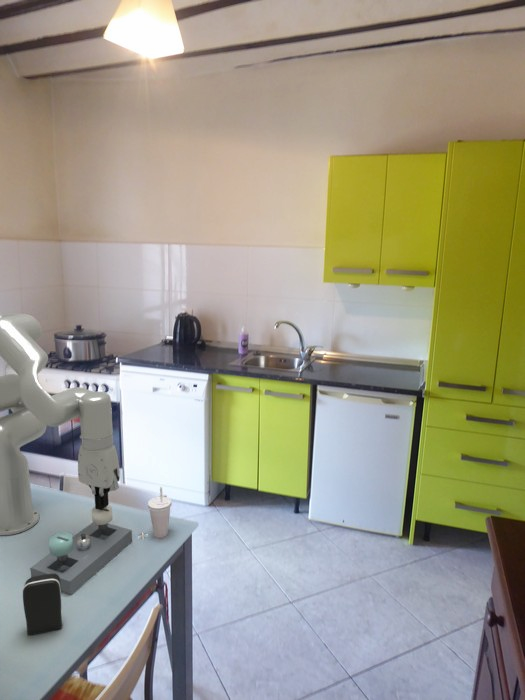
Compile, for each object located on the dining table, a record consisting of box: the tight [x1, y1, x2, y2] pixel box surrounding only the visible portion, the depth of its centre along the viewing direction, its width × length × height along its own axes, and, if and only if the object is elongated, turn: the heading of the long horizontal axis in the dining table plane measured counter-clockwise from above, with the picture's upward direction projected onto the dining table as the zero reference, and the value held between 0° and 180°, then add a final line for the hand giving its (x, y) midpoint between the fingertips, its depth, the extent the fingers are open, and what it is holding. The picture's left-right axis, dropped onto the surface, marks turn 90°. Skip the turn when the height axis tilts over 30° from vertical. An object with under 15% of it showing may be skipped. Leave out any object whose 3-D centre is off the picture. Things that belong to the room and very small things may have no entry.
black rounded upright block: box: [22, 573, 64, 636], centre depth 97 cm, size 7×4×11 cm, turn 108°
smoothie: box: [147, 486, 173, 539], centre depth 129 cm, size 6×6×14 cm
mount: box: [29, 521, 133, 596], centre depth 119 cm, size 12×22×4 cm, turn 158°
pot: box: [77, 534, 91, 551], centre depth 118 cm, size 3×3×4 cm
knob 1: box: [48, 531, 73, 562], centre depth 112 cm, size 5×5×6 cm
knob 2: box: [91, 504, 113, 531], centre depth 124 cm, size 5×5×6 cm
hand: (102, 507), depth 124 cm, fingers closed
